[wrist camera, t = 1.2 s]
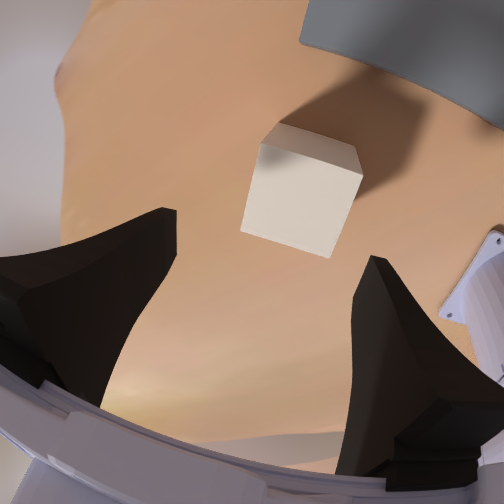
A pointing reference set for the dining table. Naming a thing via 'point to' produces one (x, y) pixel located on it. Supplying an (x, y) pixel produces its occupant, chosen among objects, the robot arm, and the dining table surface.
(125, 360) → the dining table surface
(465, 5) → the slate board
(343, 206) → the cream block
